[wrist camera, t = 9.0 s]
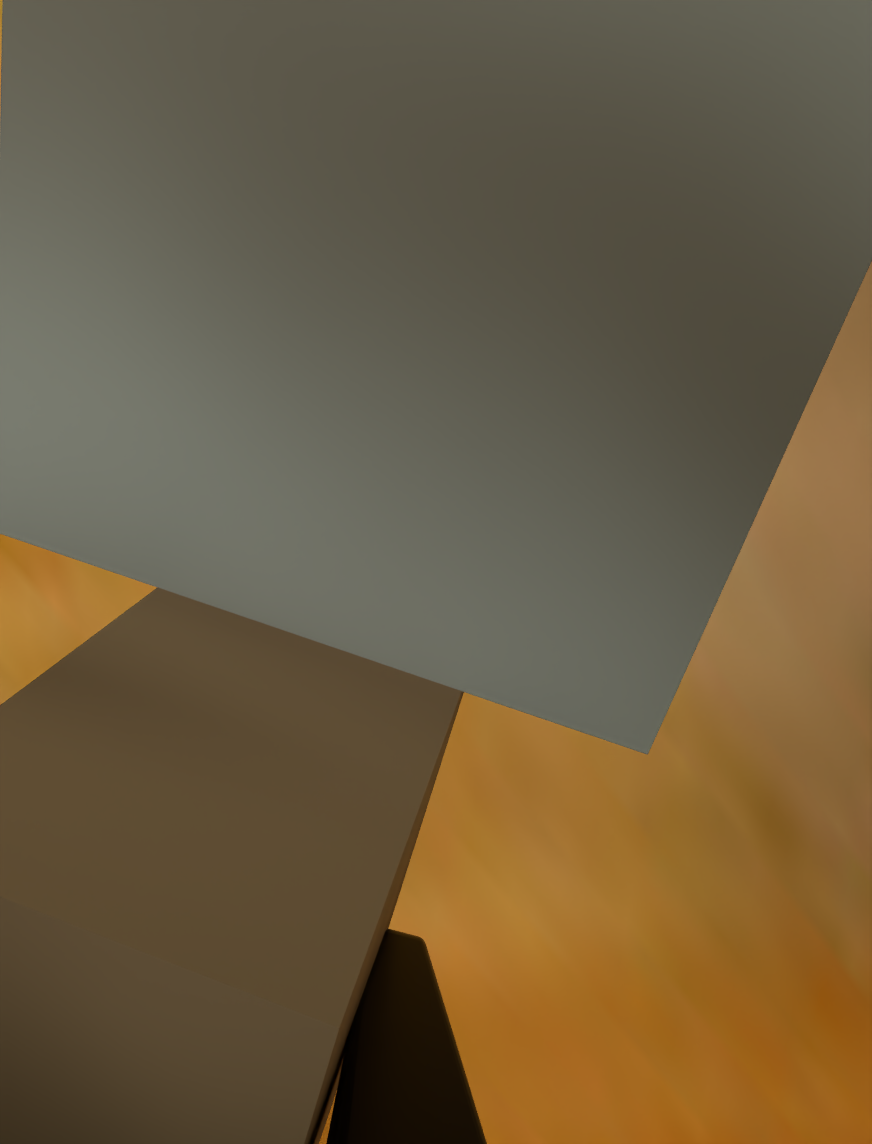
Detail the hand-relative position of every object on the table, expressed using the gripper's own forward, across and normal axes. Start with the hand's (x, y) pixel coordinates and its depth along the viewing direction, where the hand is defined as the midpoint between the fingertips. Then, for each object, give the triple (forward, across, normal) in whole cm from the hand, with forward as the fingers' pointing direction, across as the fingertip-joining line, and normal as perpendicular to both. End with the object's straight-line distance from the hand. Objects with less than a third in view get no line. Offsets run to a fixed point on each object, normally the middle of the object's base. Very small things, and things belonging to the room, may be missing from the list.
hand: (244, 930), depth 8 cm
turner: (0, 0, -4) cm, 4 cm away
